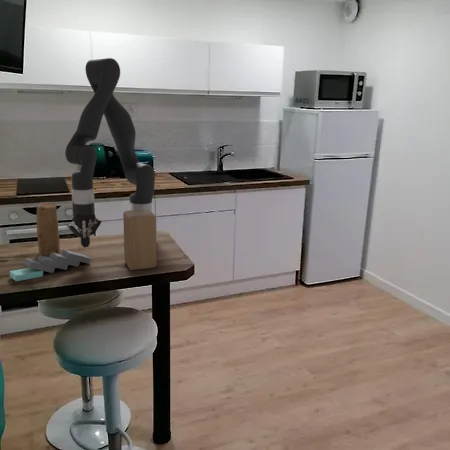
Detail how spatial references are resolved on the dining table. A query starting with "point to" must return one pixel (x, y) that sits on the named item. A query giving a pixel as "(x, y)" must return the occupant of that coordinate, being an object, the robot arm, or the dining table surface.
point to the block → (47, 229)
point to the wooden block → (139, 239)
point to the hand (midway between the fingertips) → (85, 246)
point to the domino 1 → (25, 274)
